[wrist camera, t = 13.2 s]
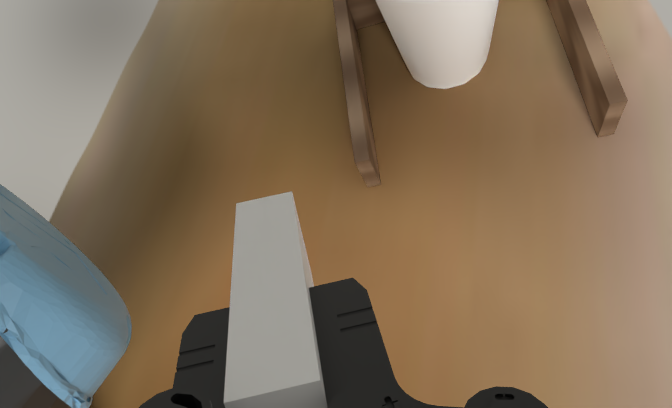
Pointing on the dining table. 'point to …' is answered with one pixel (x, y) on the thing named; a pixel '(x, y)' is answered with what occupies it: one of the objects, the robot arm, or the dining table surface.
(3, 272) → the robot arm
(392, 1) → the foam cup
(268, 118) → the dining table surface
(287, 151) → the dining table surface
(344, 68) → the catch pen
